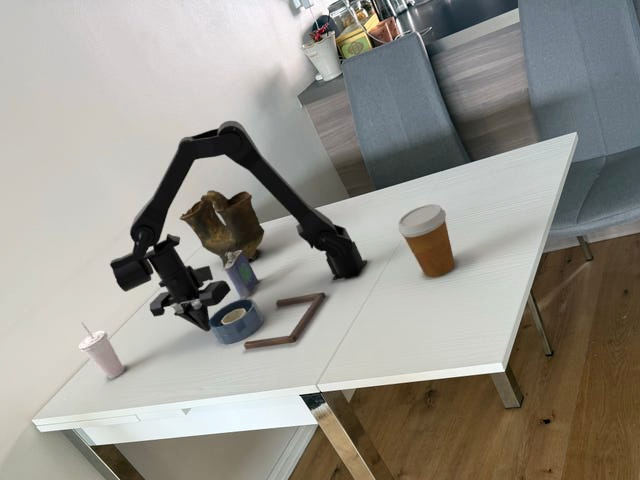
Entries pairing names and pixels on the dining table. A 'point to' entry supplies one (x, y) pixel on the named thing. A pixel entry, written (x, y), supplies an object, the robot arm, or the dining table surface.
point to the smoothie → (101, 352)
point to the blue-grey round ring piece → (240, 326)
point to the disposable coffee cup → (428, 239)
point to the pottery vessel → (238, 219)
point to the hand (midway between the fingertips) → (208, 330)
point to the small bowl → (233, 316)
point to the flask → (241, 273)
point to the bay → (317, 300)
